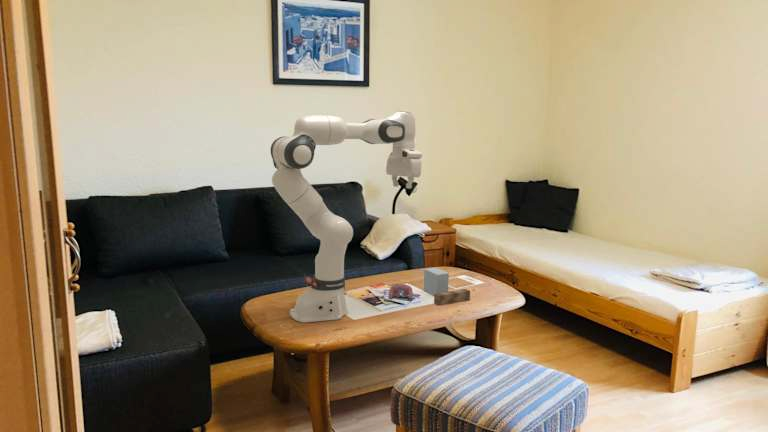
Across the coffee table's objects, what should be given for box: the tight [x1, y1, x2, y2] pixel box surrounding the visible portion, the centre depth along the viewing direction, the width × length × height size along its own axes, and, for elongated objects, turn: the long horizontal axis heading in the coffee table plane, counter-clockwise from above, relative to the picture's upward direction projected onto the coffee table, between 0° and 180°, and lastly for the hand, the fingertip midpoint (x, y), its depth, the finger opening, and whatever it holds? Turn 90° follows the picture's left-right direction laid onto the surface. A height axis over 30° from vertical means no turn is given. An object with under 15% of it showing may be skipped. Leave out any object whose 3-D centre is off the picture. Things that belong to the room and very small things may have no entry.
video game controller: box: [388, 283, 413, 301], centre depth 242 cm, size 10×5×7 cm, turn 84°
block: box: [423, 267, 450, 297], centre depth 249 cm, size 6×10×10 cm, turn 28°
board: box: [433, 288, 471, 306], centre depth 239 cm, size 16×3×4 cm, turn 118°
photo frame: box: [448, 274, 487, 291], centre depth 265 cm, size 15×1×18 cm
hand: (402, 187), depth 230 cm, fingers open, 8 cm apart
